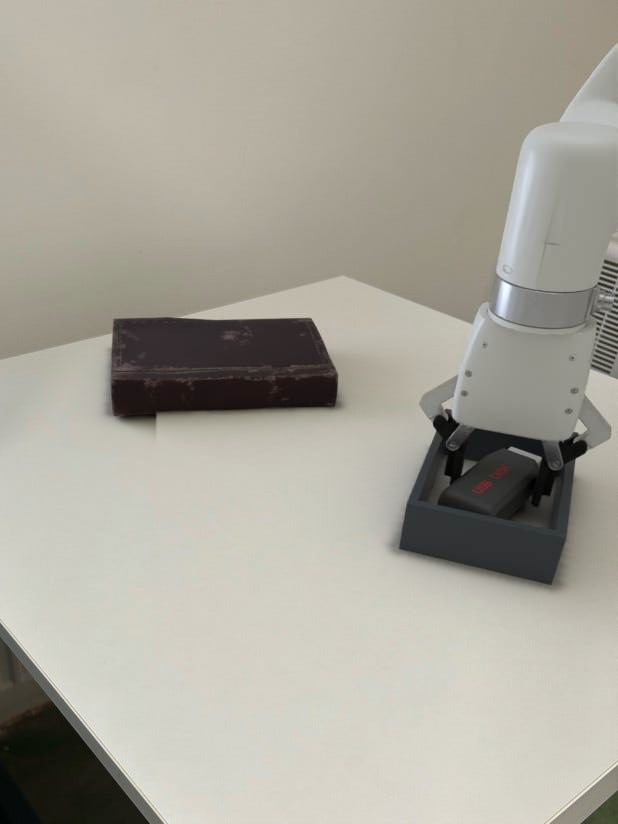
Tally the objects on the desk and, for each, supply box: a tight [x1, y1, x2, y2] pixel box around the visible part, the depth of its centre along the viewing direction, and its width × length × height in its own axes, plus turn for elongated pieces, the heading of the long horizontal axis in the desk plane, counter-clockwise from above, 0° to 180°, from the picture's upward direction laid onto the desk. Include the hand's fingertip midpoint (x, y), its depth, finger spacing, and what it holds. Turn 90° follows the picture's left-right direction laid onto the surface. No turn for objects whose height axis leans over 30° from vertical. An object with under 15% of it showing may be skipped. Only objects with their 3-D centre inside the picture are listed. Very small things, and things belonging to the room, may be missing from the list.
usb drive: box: [436, 447, 542, 520], centre depth 75 cm, size 5×12×3 cm, turn 138°
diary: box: [110, 316, 339, 417], centre depth 98 cm, size 19×25×5 cm
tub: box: [398, 408, 580, 586], centre depth 75 cm, size 19×13×6 cm
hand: (494, 489), depth 75 cm, fingers closed on usb drive, 6 cm apart
